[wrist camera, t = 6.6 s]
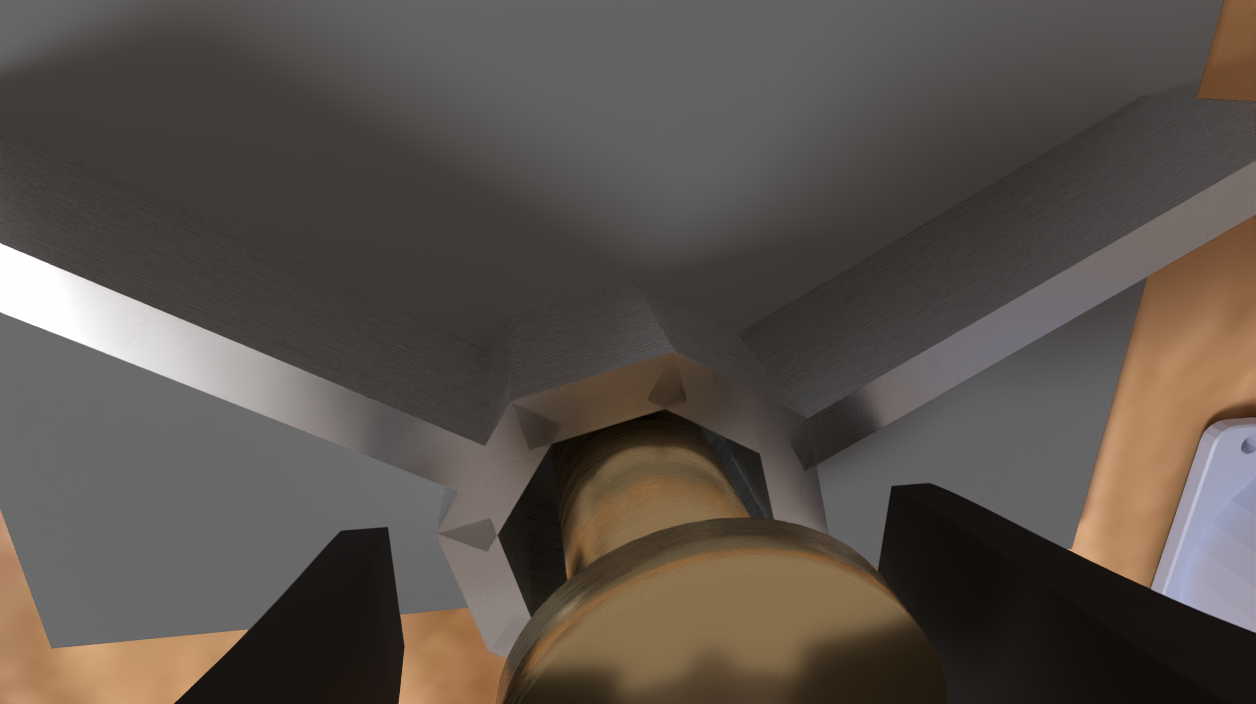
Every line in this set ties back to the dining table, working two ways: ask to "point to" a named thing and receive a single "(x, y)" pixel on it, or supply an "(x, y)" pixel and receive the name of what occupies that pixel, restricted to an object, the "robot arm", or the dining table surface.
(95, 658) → the dining table surface
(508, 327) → the steel hinge
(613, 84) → the mat
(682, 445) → the hinge pin
